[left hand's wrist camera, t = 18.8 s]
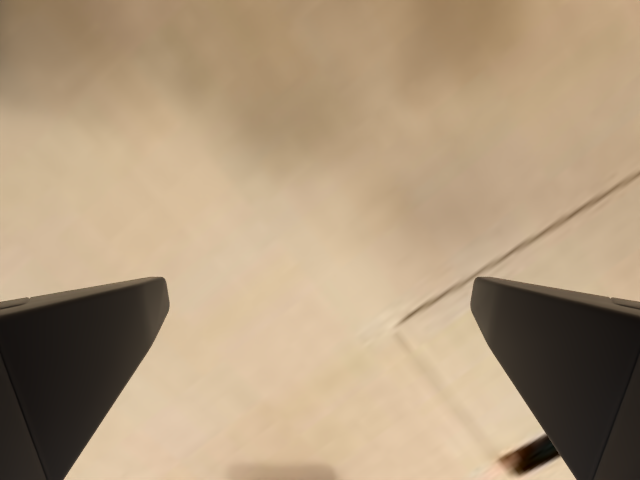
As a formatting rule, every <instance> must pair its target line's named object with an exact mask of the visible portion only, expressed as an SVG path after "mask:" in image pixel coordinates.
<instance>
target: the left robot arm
mask: <svg viewBox="0 0 640 480" xmlns="http://www.w3.org/2000/svg"><path fill="white" fill-rule="evenodd" d="M168 311H169V297H168V290H167V284H166V281H165V279H164V278H163V277H147V278H141V279H135V280H130V281H124V282H118V283H112V284H106V285H100V286H94V287H89V288H83V289H77V290H71V291H65V292H59V293H53V294H48V295H42V296H36V297H31V298H30V299H29V298H21V299H15V300H9V301H3V302H0V480H64V478H65V477H66V475H67V474H68V472H69V470H70V469H71V467H72V466H73V464H74V463H75V461H76V460H77V458H78V457H79V455H80V454H81V452H82V451H83V449H84V448H85V446H86V445H87V443H88V442H89V440H90V439H91V437H92V436H93V434H94V433H95V431H96V430H97V428H98V427H99V425H100V424H101V422H102V420H103V419H104V417H105V416H106V414H107V413H108V411H109V410H110V408H111V407H112V405H113V404H114V402H115V401H116V399H117V398H118V396H119V395H120V393H121V392H122V390H123V389H124V387H125V386H126V384H127V383H128V381H129V380H130V378H131V377H132V375H133V374H134V372H135V371H136V369H137V367H138V366H139V364H140V363H141V361H142V360H143V358H144V357H145V355H146V354H147V352H148V351H149V349H150V347H151V346H152V344H153V342H154V340H155V338H156V336H157V334H158V332H159V330H160V328H161V326H162V324H163V322H164V320H165V318H166V315H167V313H168ZM471 311H472V313H473V315H474V318H475V320H476V322H477V324H478V326H479V328H480V330H481V332H482V334H483V336H484V338H485V340H486V342H487V344H488V346H489V347H490V349H491V351H492V352H493V354H494V355H495V357H496V358H497V360H498V361H499V363H500V364H501V366H502V367H503V369H504V370H505V372H506V374H507V375H508V377H509V378H510V380H511V381H512V383H513V384H514V386H515V387H516V389H517V390H518V392H519V393H520V395H521V396H522V398H523V399H524V401H525V402H526V404H527V405H528V407H529V408H530V410H531V411H532V413H533V414H534V416H535V417H536V419H537V420H538V422H539V423H540V425H541V426H542V428H543V430H544V431H545V433H546V434H547V436H548V437H549V439H550V440H551V442H552V443H553V445H554V446H555V448H556V449H557V451H558V452H559V454H560V455H561V457H562V458H563V460H564V461H565V463H566V464H567V466H568V467H569V469H570V470H571V472H572V473H573V475H574V477H575V478H576V480H640V302H637V301H631V300H625V299H619V298H611V299H610V298H609V297H604V296H599V295H593V294H587V293H581V292H575V291H569V290H563V289H558V288H552V287H546V286H540V285H534V284H528V283H522V282H516V281H511V280H505V279H499V278H493V277H477V278H476V279H475V281H474V284H473V290H472V297H471Z"/></svg>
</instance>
